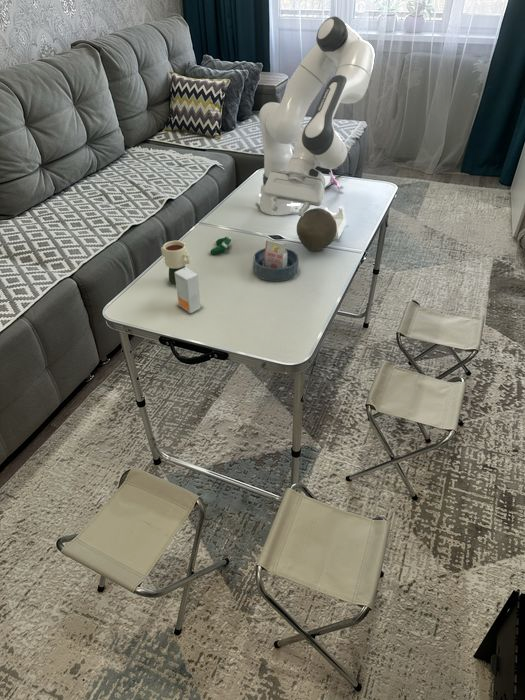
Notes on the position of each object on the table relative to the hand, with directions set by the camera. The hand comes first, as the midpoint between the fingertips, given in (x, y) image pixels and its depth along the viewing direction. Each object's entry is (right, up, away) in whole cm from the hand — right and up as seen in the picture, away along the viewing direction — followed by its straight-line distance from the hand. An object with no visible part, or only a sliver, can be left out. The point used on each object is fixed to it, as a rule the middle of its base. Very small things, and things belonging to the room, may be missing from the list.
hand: (286, 212), depth 167 cm
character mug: (-35, -23, -1) cm, 42 cm away
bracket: (+18, 0, +27) cm, 32 cm away
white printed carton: (-4, -18, +4) cm, 19 cm away
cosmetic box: (-30, -32, -12) cm, 46 cm away
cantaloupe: (+11, -9, +16) cm, 21 cm away
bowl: (-4, -18, +4) cm, 19 cm away
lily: (+23, +25, +58) cm, 67 cm away
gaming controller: (-23, -9, +16) cm, 29 cm away
